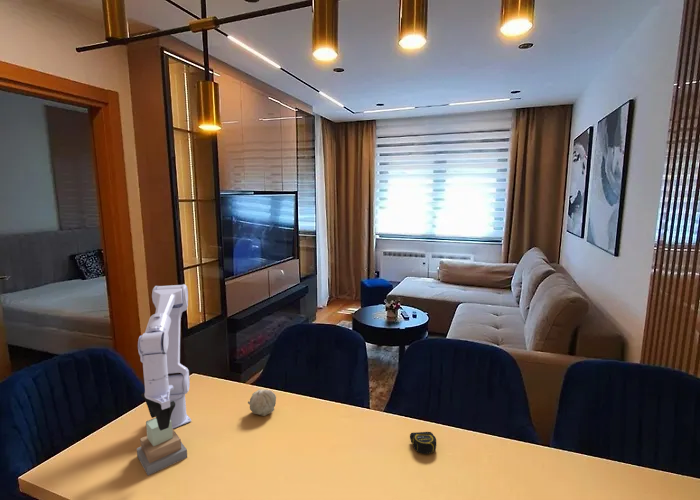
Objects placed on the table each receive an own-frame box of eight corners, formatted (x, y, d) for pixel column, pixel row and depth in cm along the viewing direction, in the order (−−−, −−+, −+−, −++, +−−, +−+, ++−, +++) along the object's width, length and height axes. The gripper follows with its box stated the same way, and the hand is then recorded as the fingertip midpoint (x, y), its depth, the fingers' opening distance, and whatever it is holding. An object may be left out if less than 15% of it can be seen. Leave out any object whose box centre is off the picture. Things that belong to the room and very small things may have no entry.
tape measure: (432, 440, 110) (432, 429, 110) (439, 456, 103) (439, 444, 103) (409, 441, 110) (409, 430, 109) (415, 457, 103) (415, 445, 102)
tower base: (137, 458, 103) (136, 448, 103) (175, 442, 110) (174, 432, 110) (147, 477, 96) (147, 467, 96) (187, 459, 103) (186, 449, 102)
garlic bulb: (275, 417, 126) (284, 392, 124) (260, 426, 118) (269, 400, 117) (256, 402, 129) (264, 378, 128) (240, 411, 122) (249, 385, 121)
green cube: (147, 438, 102) (145, 421, 102) (166, 430, 106) (164, 413, 105) (153, 446, 99) (151, 429, 98) (172, 437, 102) (171, 421, 102)
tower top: (141, 448, 103) (140, 438, 102) (171, 435, 108) (170, 426, 108) (149, 463, 97) (148, 452, 97) (181, 449, 103) (180, 439, 102)
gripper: (181, 380, 97) (184, 428, 99) (163, 362, 107) (166, 405, 109) (151, 389, 92) (155, 439, 94) (136, 369, 103) (140, 415, 105)
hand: (159, 422), depth 101 cm, fingers open, 7 cm apart
